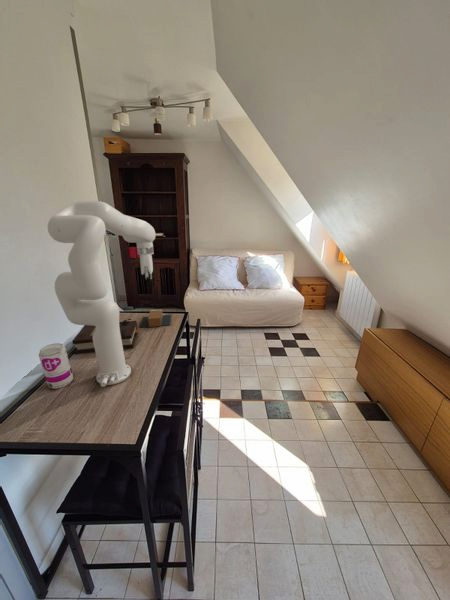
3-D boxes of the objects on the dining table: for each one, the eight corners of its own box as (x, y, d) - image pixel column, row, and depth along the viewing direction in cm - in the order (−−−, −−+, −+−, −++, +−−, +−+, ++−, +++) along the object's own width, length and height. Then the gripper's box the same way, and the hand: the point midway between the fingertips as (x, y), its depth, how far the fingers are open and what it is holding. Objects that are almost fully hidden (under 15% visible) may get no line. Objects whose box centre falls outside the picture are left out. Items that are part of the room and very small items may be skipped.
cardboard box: (160, 317, 137) (161, 309, 148) (147, 318, 136) (150, 310, 147) (161, 326, 139) (162, 317, 150) (148, 327, 138) (151, 318, 149)
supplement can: (68, 388, 92) (58, 353, 86) (43, 391, 90) (32, 355, 85) (77, 374, 99) (68, 341, 94) (54, 377, 98) (44, 343, 93)
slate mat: (169, 325, 141) (169, 324, 140) (140, 327, 138) (140, 326, 138) (170, 315, 154) (170, 314, 153) (143, 317, 151) (143, 316, 151)
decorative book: (80, 322, 127) (141, 317, 132) (83, 336, 130) (142, 330, 135) (64, 341, 109) (135, 334, 115) (68, 356, 112) (138, 348, 117)
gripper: (139, 249, 129) (144, 283, 136) (135, 253, 116) (140, 291, 122) (154, 248, 131) (158, 282, 137) (151, 253, 117) (156, 290, 123)
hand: (149, 286), depth 129 cm, fingers closed
